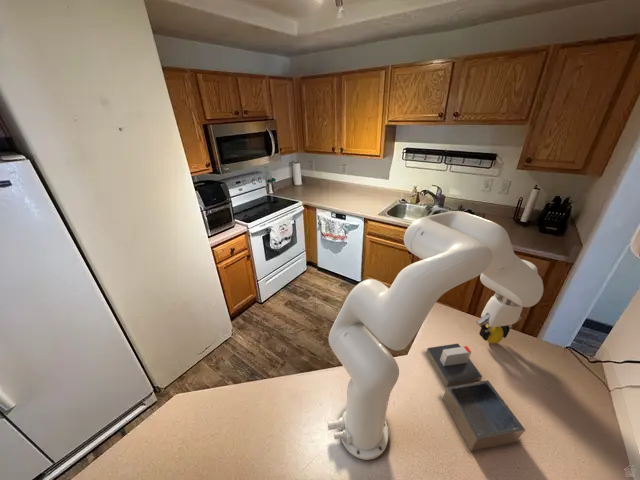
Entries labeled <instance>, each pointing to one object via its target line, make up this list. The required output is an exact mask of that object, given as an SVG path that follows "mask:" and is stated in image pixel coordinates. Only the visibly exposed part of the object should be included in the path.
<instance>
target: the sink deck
mask: <svg viewBox="0 0 640 480" xmlns="http://www.w3.org/2000/svg"><path fill="white" fill-rule="evenodd" d="M458 347H461V345H460V344H459V343H452V344H445V345H439V346H431V347H427V349H426V351H425V354H426V356H427V358H428V360H429V362H430V363H431V366H433V368H434V370H435V372H436V374H437V375H438V377H439V379H440V380H441V382H442V384H443V386H444V387H445V389H446V388H447V387H451V386H457V385H463V384H469V383H475V382H481V381H482V379H483V375H482V374H481V372H480V371H479V369H477V367H476V366H475V364H474V363H473V361H472V360H471V358H469V360H468V362H467V363H461V364H455V365H448V366H443V364H442V363H441V361H440V358H441V355H442V352H443V350H444V349H451V348H458Z"/></svg>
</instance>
